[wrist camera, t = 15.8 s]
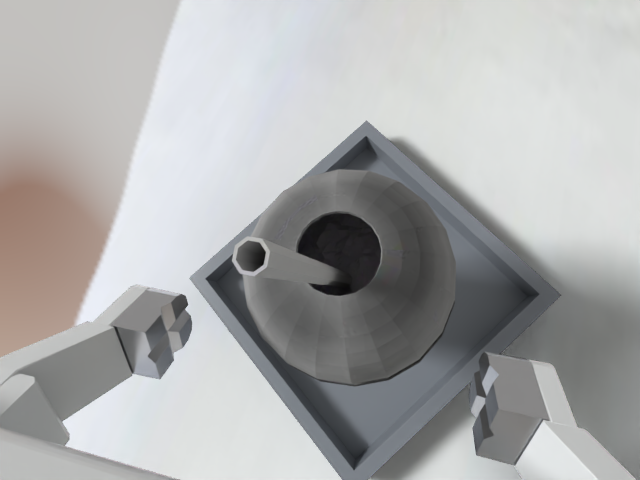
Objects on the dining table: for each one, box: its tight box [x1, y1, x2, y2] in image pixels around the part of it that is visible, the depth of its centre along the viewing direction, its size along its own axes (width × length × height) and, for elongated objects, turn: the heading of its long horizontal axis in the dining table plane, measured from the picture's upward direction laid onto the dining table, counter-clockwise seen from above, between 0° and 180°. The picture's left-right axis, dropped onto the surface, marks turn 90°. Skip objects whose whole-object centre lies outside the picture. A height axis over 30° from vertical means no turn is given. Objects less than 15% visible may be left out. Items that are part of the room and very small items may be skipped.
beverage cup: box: [232, 169, 456, 387], centre depth 14 cm, size 7×7×20 cm
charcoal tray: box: [190, 121, 561, 480], centre depth 24 cm, size 16×16×2 cm
